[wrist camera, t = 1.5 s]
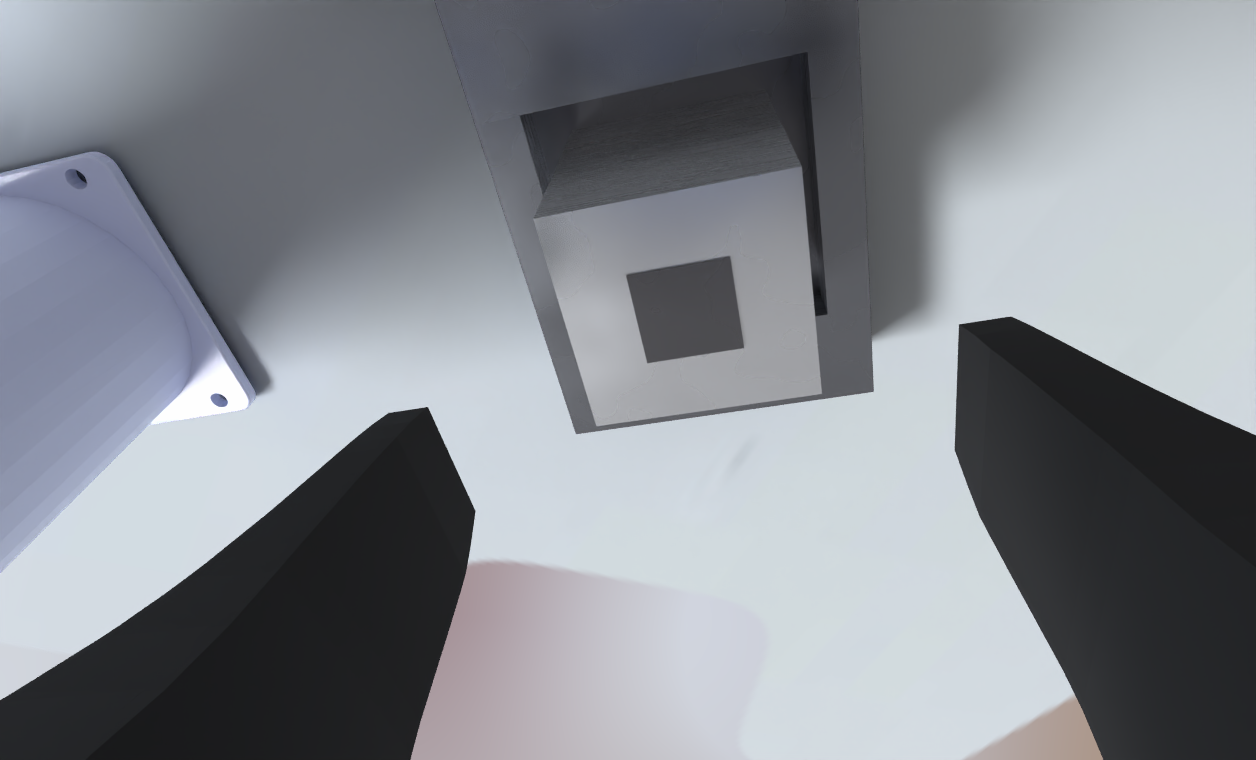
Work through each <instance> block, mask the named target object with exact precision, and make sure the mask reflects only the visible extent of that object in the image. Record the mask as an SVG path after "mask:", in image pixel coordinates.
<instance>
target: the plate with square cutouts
mask: <svg viewBox="0 0 1256 760" xmlns="http://www.w3.org/2000/svg"><path fill="white" fill-rule="evenodd" d="M434 1H435V4H436V7H437V10H438V13H439V16H440V19H441V22H442V25H443V28H444V31H445V34H446V37H447V41H448V44H449V47H450V50H451V53H452V56H453V59H454V62H455V65H456V68H457V71H458V74H459V77H460V80H461V83H462V86H463V89H464V93H465V96H466V99H467V102H468V105H469V108H470V111H471V114H472V117H473V120H474V123H475V126H476V129H477V132H478V135H479V138H480V142H481V145H482V148H483V151H484V154H485V157H486V160H487V163H488V166H489V169H490V172H491V175H492V178H493V181H494V184H495V187H496V190H497V194H498V197H499V200H500V203H501V206H502V209H503V212H504V215H505V218H506V221H507V224H508V227H509V230H510V233H511V236H512V239H513V243H514V246H515V249H516V252H517V255H518V258H519V261H520V264H521V267H522V270H523V273H524V276H525V279H526V282H527V285H528V288H529V292H530V295H531V298H532V301H533V304H534V307H535V310H536V313H537V316H538V319H539V322H540V325H541V328H542V331H543V334H544V337H545V340H546V344H547V347H548V350H549V353H550V356H551V359H552V362H553V365H554V368H555V371H556V374H557V377H558V380H559V383H560V386H561V389H562V393H563V396H564V399H565V402H566V405H567V408H568V411H569V414H570V417H571V420H572V423H573V426H574V429H575V432H576V434H581V433H588V432H595V431H602V430H609V429H616V428H623V427H630V426H637V425H644V424H651V423H658V422H665V421H672V420H679V419H686V418H693V417H700V416H707V415H714V414H721V413H728V412H735V411H742V410H749V409H756V408H763V407H770V406H777V405H784V404H791V403H798V402H805V401H812V400H819V399H826V398H833V397H840V396H847V395H854V394H861V393H868V392H874V387H873V362H872V338H871V313H870V288H869V264H868V239H867V215H866V190H865V166H864V141H863V117H862V92H861V67H860V43H859V18H858V0H434ZM763 89H765V90H766V92H767V94H768V96H769V98H770V100H771V102H772V105H773V107H774V109H775V111H776V113H777V115H778V117H779V119H780V121H781V124H782V126H783V128H784V130H785V132H786V134H787V136H788V138H789V140H790V142H791V145H792V147H793V149H794V151H795V153H796V155H797V157H798V159H799V161H800V164H801V166H802V174H803V186H804V197H805V208H806V219H807V231H808V242H809V253H810V265H811V276H812V287H813V299H814V310H815V321H816V333H817V344H818V355H819V366H820V378H821V389H822V394H818V395H811V396H804V397H797V398H790V399H783V400H776V401H769V402H762V403H755V404H748V405H741V406H734V407H727V408H720V409H713V410H706V411H699V412H692V413H686V414H679V415H672V416H665V417H658V418H651V419H644V420H637V421H630V422H623V423H616V424H609V425H602V426H596V423H595V420H594V417H593V413H592V410H591V407H590V404H589V400H588V397H587V394H586V391H585V387H584V384H583V381H582V377H581V374H580V371H579V368H578V364H577V361H576V358H575V354H574V351H573V348H572V345H571V341H570V338H569V335H568V332H567V328H566V325H565V322H564V318H563V315H562V312H561V309H560V305H559V302H558V299H557V295H556V292H555V289H554V286H553V282H552V279H551V276H550V273H549V269H548V266H547V263H546V259H545V256H544V253H543V250H542V246H541V243H540V240H539V236H538V233H537V230H536V227H535V223H534V220H533V218H534V216H535V214H536V211H537V209H538V207H539V205H540V202H541V200H542V198H543V196H544V193H545V191H546V189H547V187H548V184H549V182H550V180H551V178H552V175H553V173H554V171H555V169H556V166H557V164H558V162H559V159H560V157H561V155H562V153H563V150H564V148H565V146H566V144H567V141H568V139H569V137H570V135H571V132H572V130H577V129H582V128H586V127H591V126H595V125H600V124H605V123H609V122H614V121H619V120H623V119H628V118H633V117H637V116H642V115H647V114H651V113H656V112H661V111H665V110H670V109H675V108H679V107H684V106H688V105H693V104H698V103H702V102H707V101H712V100H716V99H721V98H726V97H730V96H735V95H740V94H744V93H749V92H754V91H758V90H763Z"/></svg>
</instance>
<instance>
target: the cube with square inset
mask: <svg viewBox="0 0 1256 760" xmlns="http://www.w3.org/2000/svg"><path fill="white" fill-rule="evenodd" d="M533 220H534V223H535V227H536V230H537V233H538V236H539V240H540V243H541V246H542V250H543V253H544V256H545V259H546V263H547V266H548V269H549V273H550V276H551V279H552V282H553V286H554V289H555V292H556V295H557V299H558V302H559V305H560V309H561V312H562V315H563V318H564V322H565V325H566V328H567V332H568V335H569V338H570V341H571V345H572V348H573V351H574V354H575V358H576V361H577V364H578V368H579V371H580V374H581V377H582V381H583V384H584V387H585V391H586V394H587V397H588V400H589V404H590V407H591V410H592V413H593V417H594V420H595V423H596V426H602V425H609V424H616V423H623V422H630V421H637V420H644V419H651V418H658V417H665V416H672V415H679V414H686V413H692V412H699V411H706V410H713V409H720V408H727V407H734V406H741V405H748V404H755V403H762V402H769V401H776V400H783V399H790V398H797V397H804V396H811V395H818V394H822V389H821V378H820V366H819V355H818V344H817V333H816V321H815V310H814V299H813V287H812V276H811V265H810V253H809V242H808V231H807V219H806V208H805V197H804V186H803V174H802V166H801V164H800V161H799V159H798V157H797V155H796V153H795V151H794V149H793V147H792V145H791V142H790V140H789V138H788V136H787V134H786V132H785V130H784V128H783V126H782V124H781V121H780V119H779V117H778V115H777V113H776V111H775V109H774V107H773V105H772V102H771V100H770V98H769V96H768V94H767V92H766V90H765V89H763V90H758V91H754V92H749V93H744V94H740V95H735V96H730V97H726V98H721V99H716V100H712V101H707V102H702V103H698V104H693V105H688V106H684V107H679V108H675V109H670V110H665V111H661V112H656V113H651V114H647V115H642V116H637V117H633V118H628V119H623V120H619V121H614V122H609V123H605V124H600V125H595V126H591V127H586V128H582V129H577V130H572V132H571V135H570V137H569V139H568V141H567V144H566V146H565V148H564V150H563V153H562V155H561V157H560V159H559V162H558V164H557V166H556V169H555V171H554V173H553V175H552V178H551V180H550V182H549V184H548V187H547V189H546V191H545V193H544V196H543V198H542V200H541V202H540V205H539V207H538V209H537V211H536V214H535V216H534V218H533Z"/></svg>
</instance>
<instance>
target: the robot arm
mask: <svg viewBox="0 0 1256 760" xmlns="http://www.w3.org/2000/svg"><path fill="white" fill-rule="evenodd" d="M76 170H77V171H79V172H81V173H82V174H83V175H84V176H85V178H86V181H87V183H85V182H83V181H82V180H81V179H80V178H79V177H78V175H77V173H76ZM219 394H221V395H223V396H224V397H225V398H226V399H227V400H226V399H224V398H222V397H221V396H220V395H219ZM255 397H256V394H255V391H254V389H253V387H252V385H251V384H250V382H249V380H248V379H247V377H246V375H245V374H244V372H243V370H242V369H241V367H240V366H239V364H238V362H237V361H236V359H235V357H234V356H233V354H232V352H231V351H230V349H229V347H228V346H227V344H226V343H225V341H224V339H223V338H222V336H221V334H220V333H219V331H218V329H217V328H216V326H215V324H214V323H213V321H212V320H211V318H210V316H209V315H208V313H207V311H206V310H205V308H204V306H203V305H202V303H201V301H200V300H199V298H198V296H197V295H196V293H195V292H194V290H193V288H192V287H191V285H190V283H189V282H188V280H187V278H186V277H185V275H184V273H183V272H182V270H181V269H180V267H179V265H178V264H177V262H176V260H175V259H174V257H173V255H172V254H171V252H170V250H169V249H168V247H167V246H166V244H165V242H164V241H163V239H162V237H161V236H160V234H159V232H158V231H157V229H156V227H155V226H154V224H153V223H152V221H151V219H150V218H149V216H148V214H147V213H146V211H145V209H144V208H143V206H142V204H141V203H140V201H139V200H138V198H137V196H136V195H135V193H134V191H133V190H132V188H131V186H130V185H129V183H128V181H127V180H126V178H125V177H124V175H123V173H122V172H121V170H120V168H119V167H118V166H117V164H116V163H115V162H114V161H113V160H112V159H111V158H110V157H108V156H107V155H105V154H102V153H100V152H87V153H83V154H78V155H74V156H70V157H66V158H61V159H57V160H53V161H49V162H45V163H40V164H36V165H32V166H28V167H24V168H19V169H15V170H11V171H7V172H2V173H0V573H1V572H2V571H3V570H4V569H5V568H6V567H7V566H8V565H9V564H10V563H11V562H12V561H13V560H14V559H15V558H16V557H17V556H18V555H19V554H20V553H21V552H22V551H23V550H24V549H25V548H26V547H27V546H28V545H29V544H30V543H31V542H32V541H33V540H34V539H35V538H36V537H37V536H38V535H39V534H40V533H41V532H42V531H43V530H44V529H45V528H46V527H47V526H48V525H49V524H50V523H51V522H52V521H53V520H54V519H55V518H56V517H57V516H58V515H59V514H60V513H61V512H62V511H63V510H64V509H65V508H66V507H67V506H68V505H69V504H70V503H71V502H72V501H73V500H74V499H75V498H76V497H77V496H78V495H79V494H80V493H81V492H82V491H83V490H84V489H85V488H86V487H87V486H88V485H89V484H90V483H91V482H92V481H93V480H94V479H95V478H96V477H97V476H98V475H99V474H100V473H101V472H102V471H103V470H104V469H105V468H106V467H107V466H108V465H109V464H110V463H111V462H112V461H113V460H114V459H115V458H116V457H117V456H118V455H119V454H120V453H121V452H122V451H123V450H124V449H125V448H126V447H127V446H128V445H129V444H130V443H131V442H132V441H133V440H134V439H135V438H136V437H137V436H138V435H139V434H140V433H141V432H142V431H143V430H144V429H145V428H146V427H147V426H148V425H153V424H160V423H166V422H172V421H178V420H185V419H191V418H197V417H203V416H209V415H216V414H222V413H228V412H234V411H240V410H244V409H247V408H248V407H249V406H250V405H251V404H252V402H253V401H254V400H255ZM955 452H956V455H957V457H958V460H959V463H960V466H961V468H962V471H963V474H964V477H965V479H966V482H967V485H968V488H969V490H970V493H971V495H972V498H973V500H974V503H975V506H976V508H977V511H978V513H979V516H980V518H981V520H982V522H983V523H984V525H985V527H986V529H987V531H988V533H989V535H990V537H991V539H992V541H993V542H994V544H995V546H996V548H997V550H998V552H999V554H1000V555H1001V557H1002V559H1003V561H1004V563H1005V565H1006V567H1007V568H1008V570H1009V572H1010V574H1011V576H1012V578H1013V579H1014V581H1015V583H1016V585H1017V587H1018V589H1019V590H1020V592H1021V594H1022V596H1023V598H1024V600H1025V601H1026V603H1027V605H1028V607H1029V609H1030V611H1031V612H1032V614H1033V616H1034V618H1035V620H1036V622H1037V623H1038V625H1039V627H1040V629H1041V631H1042V633H1043V634H1044V636H1045V638H1046V640H1047V642H1048V644H1049V645H1050V647H1051V649H1052V651H1053V653H1054V655H1055V656H1056V658H1057V660H1058V662H1059V664H1060V666H1061V667H1062V669H1063V671H1064V673H1065V675H1066V677H1067V679H1068V681H1069V683H1070V685H1071V687H1072V689H1073V691H1074V693H1075V696H1076V698H1077V700H1078V702H1079V704H1080V706H1081V708H1082V710H1083V712H1084V714H1085V717H1086V719H1087V722H1088V724H1089V726H1090V729H1091V731H1092V733H1093V736H1094V738H1095V740H1096V743H1097V745H1098V748H1099V750H1100V752H1101V755H1102V757H1103V760H1256V435H1254V434H1251V433H1249V432H1247V431H1245V430H1242V429H1240V428H1238V427H1236V426H1233V425H1231V424H1229V423H1226V422H1224V421H1222V420H1220V419H1217V418H1215V417H1213V416H1210V415H1208V414H1206V413H1204V412H1202V411H1200V410H1197V409H1195V408H1193V407H1191V406H1189V405H1187V404H1185V403H1182V402H1180V401H1178V400H1176V399H1174V398H1172V397H1170V396H1168V395H1166V394H1164V393H1162V392H1160V391H1157V390H1155V389H1153V388H1151V387H1149V386H1147V385H1145V384H1143V383H1141V382H1139V381H1137V380H1135V379H1133V378H1131V377H1129V376H1127V375H1125V374H1123V373H1121V372H1119V371H1118V370H1116V369H1114V368H1112V367H1110V366H1108V365H1106V364H1104V363H1102V362H1100V361H1098V360H1096V359H1094V358H1092V357H1090V356H1088V355H1087V354H1085V353H1083V352H1081V351H1079V350H1077V349H1075V348H1073V347H1071V346H1069V345H1067V344H1066V343H1064V342H1062V341H1060V340H1058V339H1056V338H1054V337H1052V336H1050V335H1048V334H1046V333H1044V332H1042V331H1040V330H1038V329H1036V328H1034V327H1032V326H1030V325H1028V324H1026V323H1024V322H1022V321H1020V320H1017V319H1015V318H1013V317H1005V318H998V319H992V320H986V321H979V322H973V323H966V324H960V325H959V342H958V370H957V399H956V428H955ZM474 518H475V509H474V507H473V505H472V503H471V500H470V498H469V496H468V494H467V492H466V490H465V487H464V485H463V483H462V481H461V479H460V476H459V474H458V472H457V470H456V468H455V466H454V463H453V461H452V459H451V457H450V455H449V452H448V450H447V448H446V446H445V444H444V441H443V439H442V437H441V435H440V433H439V431H438V428H437V426H436V424H435V422H434V420H433V417H432V415H431V413H430V411H429V409H428V407H425V408H419V409H412V410H406V411H400V412H393V413H388V414H387V415H385V416H384V417H382V418H381V419H380V420H378V421H377V422H375V423H374V424H373V425H371V426H370V427H369V428H368V429H366V430H365V431H364V432H363V433H361V434H360V435H359V436H358V437H356V438H355V439H354V440H353V441H352V442H350V443H349V444H348V445H347V446H346V447H345V448H343V449H342V450H341V451H340V452H339V453H337V454H336V455H335V456H334V457H333V458H332V459H331V460H329V461H328V462H327V463H326V464H325V465H324V466H322V467H321V468H320V469H319V470H318V471H317V472H315V473H314V474H313V475H312V476H311V477H310V478H308V479H307V480H306V481H305V482H304V483H303V484H301V485H300V486H299V487H298V488H297V489H296V490H294V491H293V492H292V493H291V494H290V495H289V496H288V497H286V498H285V499H284V500H283V501H282V502H281V503H279V504H278V505H277V506H276V507H275V508H274V509H272V510H271V511H270V512H269V513H267V514H266V515H265V516H264V517H263V518H261V519H260V520H259V521H258V522H256V523H255V524H254V525H253V526H251V527H250V528H249V529H248V530H246V531H245V532H244V533H243V534H241V535H240V536H239V537H238V538H237V539H235V540H234V541H233V542H232V543H230V544H229V545H228V546H227V547H225V548H224V549H223V550H222V551H220V552H219V553H218V554H217V555H215V556H214V557H213V558H212V559H210V560H209V561H208V562H207V563H206V564H204V565H203V566H202V567H200V568H199V569H198V570H196V571H195V572H194V573H192V574H191V575H190V576H188V577H187V578H186V579H184V580H183V581H182V582H180V583H179V584H178V585H176V586H175V587H174V588H172V589H171V590H169V591H168V592H167V593H165V594H164V595H163V596H161V597H160V598H158V599H157V600H155V601H154V602H153V603H151V604H150V605H148V606H147V607H145V608H144V609H142V610H141V611H140V612H138V613H137V614H135V615H134V616H132V617H131V618H130V619H128V620H127V621H125V622H124V623H122V624H121V625H120V626H118V627H117V628H115V629H114V630H112V631H111V632H109V633H108V634H106V635H105V636H103V637H102V638H100V639H98V640H97V641H95V642H94V643H92V644H90V645H89V646H87V647H85V648H84V649H82V650H81V651H79V652H77V653H76V654H74V655H73V656H71V657H69V658H68V659H66V660H65V661H63V662H62V663H60V664H58V665H57V666H55V667H53V668H52V669H50V670H49V671H47V672H45V673H44V674H42V675H41V676H39V677H37V678H36V679H35V680H33V681H31V682H29V683H28V684H26V685H25V686H23V687H21V688H20V689H18V690H17V691H15V692H14V693H12V694H10V695H9V696H7V697H5V698H3V699H2V700H0V760H410V759H411V755H412V751H413V747H414V743H415V740H416V736H417V732H418V729H419V725H420V721H421V718H422V715H423V711H424V708H425V705H426V702H427V699H428V696H429V692H430V689H431V686H432V683H433V679H434V676H435V673H436V670H437V667H438V663H439V660H440V657H441V654H442V651H443V647H444V644H445V641H446V638H447V635H448V631H449V628H450V625H451V622H452V618H453V615H454V612H455V608H456V605H457V602H458V598H459V595H460V592H461V588H462V585H463V581H464V578H465V574H466V569H467V563H468V558H469V552H470V546H471V539H472V532H473V525H474Z"/></svg>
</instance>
